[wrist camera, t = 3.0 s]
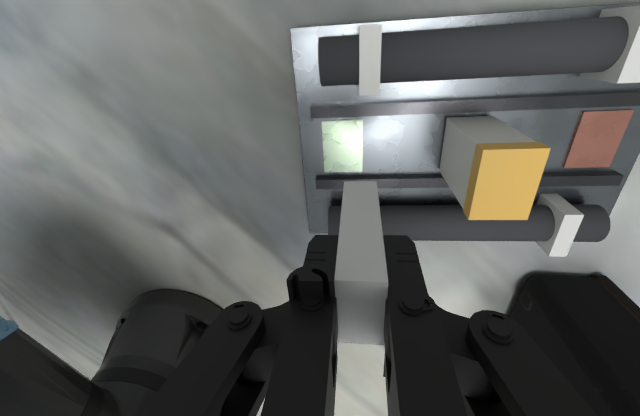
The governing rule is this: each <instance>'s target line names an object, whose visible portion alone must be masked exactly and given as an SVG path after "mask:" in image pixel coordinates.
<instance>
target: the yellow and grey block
mask: <svg viewBox="0 0 640 416" xmlns="http://www.w3.org/2000/svg"><path fill="white" fill-rule="evenodd" d="M550 149H551V148H550V147H548V146H546V145H545V144H543V143H541V142H536V141H535V140H533V139H531V138H530V137H528V136H526V135H524V134H523V133H521V132H519V131H518V130H516V129H514V128H513V127H511V126H509V125H507V124H506V123H504V122H502V121H501V120H499V119H497V118H496V117H494V116H471V117H447V121H446V127H445V134H444V141H443V148H442V155H441V162H440V169H439V171H440V173H441V174H442V176H443V177H444V179H445V181H446V182H447V184H448V186H449V187H450V189H451V190H452V192H453V194H454V195H455V197H456V198H457V200H458V202H459V203H460V205H461V206H462V208H463V212H464V214H465V215H466V217H467V219H468V220H528V217H529V214H530V211H531V208H532V205H533V202H534V199H535V195H536V192H537V189H538V186H539V183H540V180H541V177H542V174H543V171H544V168H545V165H546V162H547V159H548V156H549V152H550Z"/></svg>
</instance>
